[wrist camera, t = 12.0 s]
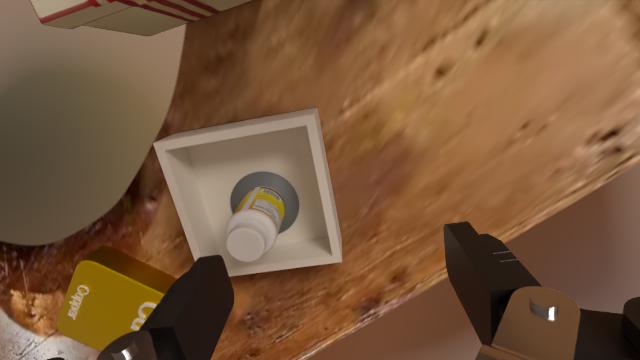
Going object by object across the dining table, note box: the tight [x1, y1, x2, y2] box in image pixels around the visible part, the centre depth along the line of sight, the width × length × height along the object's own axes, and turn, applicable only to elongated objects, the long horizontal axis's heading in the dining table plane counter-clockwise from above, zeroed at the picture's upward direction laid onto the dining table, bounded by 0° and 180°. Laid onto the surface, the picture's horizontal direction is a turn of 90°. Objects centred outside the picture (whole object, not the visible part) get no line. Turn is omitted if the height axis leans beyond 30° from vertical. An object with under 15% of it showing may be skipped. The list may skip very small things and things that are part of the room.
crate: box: [153, 107, 342, 277], centre depth 41 cm, size 18×18×6 cm
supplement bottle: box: [226, 186, 286, 262], centre depth 39 cm, size 6×6×10 cm
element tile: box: [56, 246, 177, 352], centre depth 49 cm, size 15×15×5 cm
